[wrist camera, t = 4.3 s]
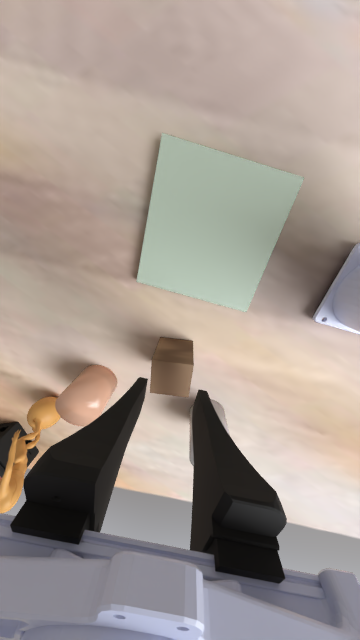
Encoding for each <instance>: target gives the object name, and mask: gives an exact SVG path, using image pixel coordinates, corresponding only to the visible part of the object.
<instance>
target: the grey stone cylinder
mask: <svg viewBox="0 0 360 640" xmlns="http://www.w3.org/2000/svg"><path fill="white" fill-rule="evenodd" d="M211 402H212V404H213V407H214V409H215V411H216V413H217V415H218V417H219V419H220V420H221V422H222V424H223V426H224V427H225V429H226V431H227V433H228V434H229V430H228V425H227V421H226V416H225V412H224V408H223V407H222V405H221V404H220V403H218V402H216V401H214V400H211ZM193 406H194V404H193V405H192V407H191V409H190V462H191V464H192V465H193V466H194V453H193V435H192V411H193ZM229 436H230V434H229Z"/></svg>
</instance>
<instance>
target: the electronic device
mask: <svg viewBox="0 0 360 640" xmlns="http://www.w3.org/2000/svg"><path fill="white" fill-rule="evenodd" d="M18 430H19V431H20V430H21V431H20V433H19V431H18ZM17 431H18V433H19V437H18V439H19V438H21V437H23V436H26V435H27V433H26V432H25V431H24V429H23V428H22V426H21V425H20V424H19V422H15V423H5V424H0V479H1V478H2V477H3V475H4V472H5V469H6V465H7V462H8V457H9V451H10V447H11V444H12V437H14V434H15V432H16V433H17ZM18 439H17V440H18ZM30 442H32V441H28V440H25V443H26V445H27V444H28V443H30ZM38 452H39V450H38V449H37V448H36V446H34V447H33V448H31V449H27V454H26V455H27V459H28V461H27V467H28V466H29V464H30V463H31V462H32V461H33V459H34V458H35V457H36V455H37V454H38ZM14 464H15V463H13V465H14Z"/></svg>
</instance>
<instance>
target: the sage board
mask: <svg viewBox="0 0 360 640" xmlns="http://www.w3.org/2000/svg"><path fill="white" fill-rule="evenodd" d="M303 180H304V177H301V176H298V175H295V174H292V173H288V172H285V171H282V170H279V169H276V168H273V167H269V166H266V165H263V164H260V163H257V162H253V161H250V160H247V159H244V158H241V157H238V156H234V155H231V154H228V153H225V152H222V151H218V150H215V149H212V148H209V147H206V146H203V145H199V144H196V143H193V142H190V141H187V140H183V139H180V138H177V137H174V136H171V135H168V134H164V133H162V136H161V142H160V148H159V154H158V159H157V165H156V171H155V177H154V183H153V188H152V194H151V200H150V206H149V212H148V217H147V223H146V229H145V235H144V241H143V246H142V252H141V258H140V264H139V270H138V275H137V281H136V282H139V283H143V284H146V285H150V286H153V287H157V288H161V289H164V290H168V291H171V292H175V293H179V294H182V295H186V296H189V297H193V298H197V299H200V300H204V301H207V302H211V303H214V304H218V305H222V306H225V307H229V308H232V309H236V310H240V311H243V312H247V309H248V307H249V305H250V303H251V300H252V298H253V296H254V293H255V291H256V289H257V286H258V284H259V282H260V279H261V277H262V275H263V272H264V270H265V268H266V266H267V263H268V261H269V259H270V256H271V254H272V252H273V249H274V247H275V245H276V242H277V240H278V238H279V235H280V233H281V231H282V228H283V226H284V224H285V222H286V219H287V217H288V215H289V212H290V210H291V208H292V205H293V203H294V201H295V198H296V196H297V194H298V191H299V189H300V187H301V185H302V182H303Z"/></svg>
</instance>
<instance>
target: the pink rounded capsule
mask: <svg viewBox="0 0 360 640" xmlns="http://www.w3.org/2000/svg"><path fill="white" fill-rule="evenodd" d="M116 387H117V378H116V376H115V374H114V373H113V372H112V371H111V370H110V369H108V368H106V367H104V366H101V365H91V366H88V367H87V368H85V369H84V370H83V371H82V373H81V374H80V375H79V376H78V377H77V378H76V379H75V380H74V381H73V382H72V383H71V384H70V385H69V386H68V387H67V388H66V389H65V390H64V391H63V392H62V394H61V395H60V396H59V397H58V398H57V399H56V402H55V408H56V411H57V413H58V414H59V415H60V417H61V418H63V419H64V420H65V421H67V422H68V423H71V424H73V425H77V426H87V425H88V424H90V423H91V422H93V421H94V420H95V419H97V418H98V417H99V416H100V415H101V413H102V411H103V410H104V408H105V406H106V404H107V403H108V401H109V399H110V397H111V396H112V394H113V392H114V390H115V389H116Z"/></svg>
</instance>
